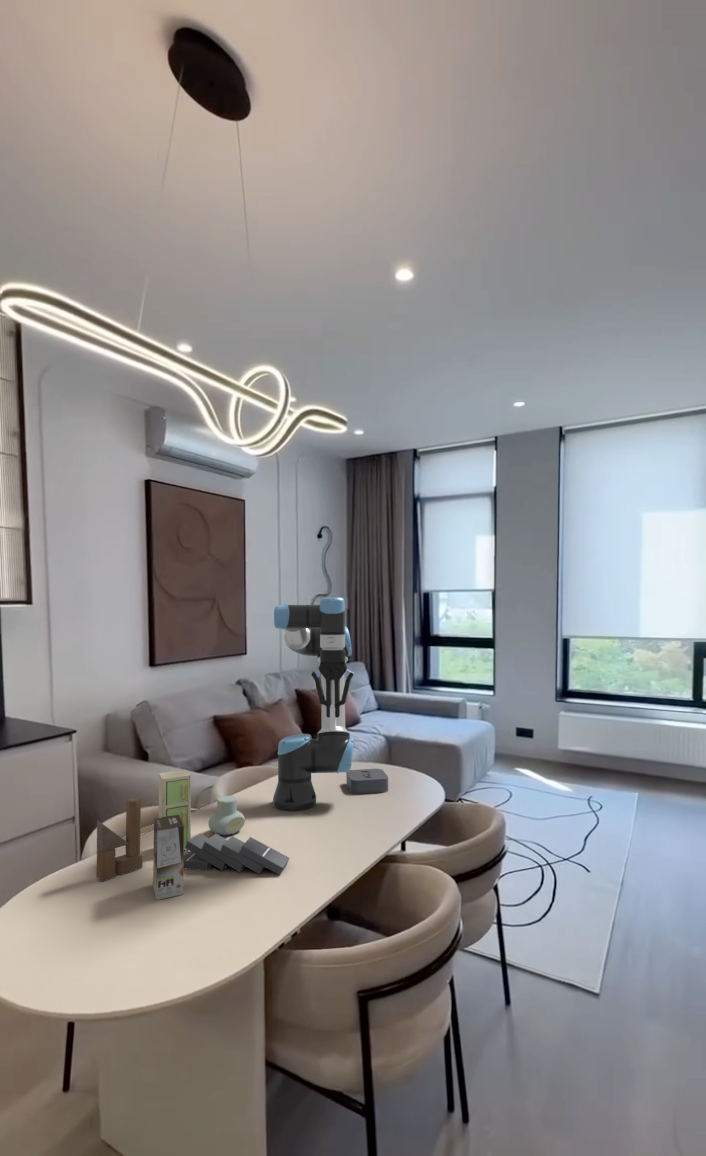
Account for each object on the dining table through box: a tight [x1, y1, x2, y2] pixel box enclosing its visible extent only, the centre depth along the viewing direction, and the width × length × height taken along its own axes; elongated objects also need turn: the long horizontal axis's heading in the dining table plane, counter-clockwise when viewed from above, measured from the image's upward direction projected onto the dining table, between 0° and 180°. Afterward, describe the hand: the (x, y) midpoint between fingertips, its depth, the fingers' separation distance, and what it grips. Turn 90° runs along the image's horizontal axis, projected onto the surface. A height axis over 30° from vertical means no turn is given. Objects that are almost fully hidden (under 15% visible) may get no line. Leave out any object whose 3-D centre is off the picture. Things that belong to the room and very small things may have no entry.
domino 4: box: [220, 835, 266, 875], centre depth 150 cm, size 2×6×12 cm
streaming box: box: [345, 768, 389, 795], centre depth 218 cm, size 14×14×5 cm
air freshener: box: [207, 795, 246, 836], centre depth 175 cm, size 11×8×10 cm
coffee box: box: [152, 815, 184, 901], centre depth 139 cm, size 9×6×16 cm
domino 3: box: [202, 833, 247, 873], centre depth 151 cm, size 2×6×12 cm
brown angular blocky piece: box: [95, 796, 143, 882], centre depth 148 cm, size 4×11×18 cm, turn 135°
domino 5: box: [239, 836, 290, 876], centre depth 150 cm, size 2×6×12 cm
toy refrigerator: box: [158, 769, 192, 851], centre depth 163 cm, size 8×7×21 cm
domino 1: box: [183, 850, 213, 871], centre depth 153 cm, size 2×6×12 cm
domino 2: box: [185, 833, 229, 871], centre depth 153 cm, size 2×6×12 cm
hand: (333, 728), depth 170 cm, fingers closed
